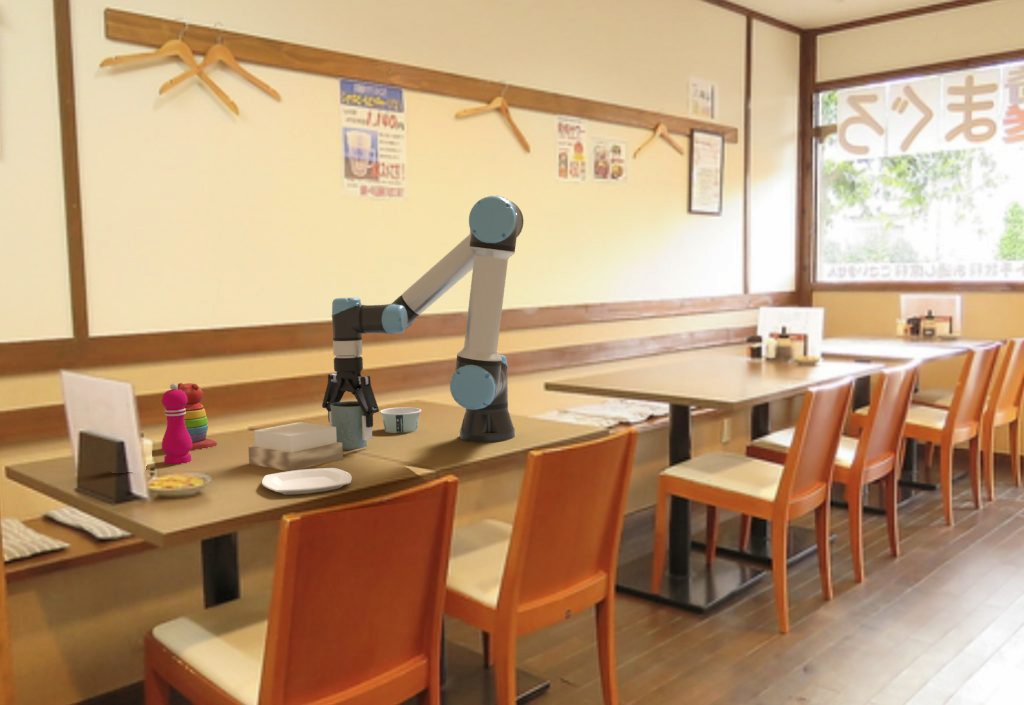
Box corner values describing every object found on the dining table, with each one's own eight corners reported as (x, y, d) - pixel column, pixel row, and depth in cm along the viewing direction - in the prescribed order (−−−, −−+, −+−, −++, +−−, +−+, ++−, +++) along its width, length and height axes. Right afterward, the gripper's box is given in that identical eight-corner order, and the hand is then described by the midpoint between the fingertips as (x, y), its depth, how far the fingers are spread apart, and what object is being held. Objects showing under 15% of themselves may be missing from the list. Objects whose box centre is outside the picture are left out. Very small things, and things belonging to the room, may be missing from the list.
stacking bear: (220, 445, 242) (217, 381, 241) (193, 452, 233) (189, 386, 232) (190, 443, 247) (187, 380, 245) (162, 450, 238) (159, 384, 236)
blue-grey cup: (333, 445, 240) (332, 401, 239) (371, 443, 241) (370, 400, 240) (330, 452, 230) (328, 407, 229) (369, 451, 231) (368, 405, 230)
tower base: (343, 462, 220) (342, 442, 219) (291, 474, 207) (290, 453, 207) (301, 455, 230) (300, 436, 229) (249, 467, 217) (248, 446, 217)
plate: (268, 502, 182) (268, 493, 182) (256, 482, 200) (256, 474, 199) (360, 491, 189) (360, 482, 189) (341, 473, 207) (340, 465, 207)
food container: (424, 434, 253) (424, 412, 252) (382, 437, 250) (382, 414, 250) (418, 428, 265) (418, 406, 264) (378, 430, 262) (377, 408, 261)
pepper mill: (157, 463, 221) (152, 383, 219) (184, 458, 227) (180, 380, 225) (170, 466, 216) (166, 385, 215) (198, 461, 222) (194, 382, 220)
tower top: (336, 442, 219) (336, 427, 219) (291, 452, 208) (290, 436, 208) (300, 437, 228) (299, 422, 227) (254, 446, 217) (253, 430, 216)
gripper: (391, 357, 229) (393, 439, 231) (328, 353, 243) (331, 430, 245) (369, 359, 223) (372, 444, 225) (306, 355, 238) (309, 434, 240)
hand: (350, 437), depth 235 cm, fingers open, 12 cm apart
